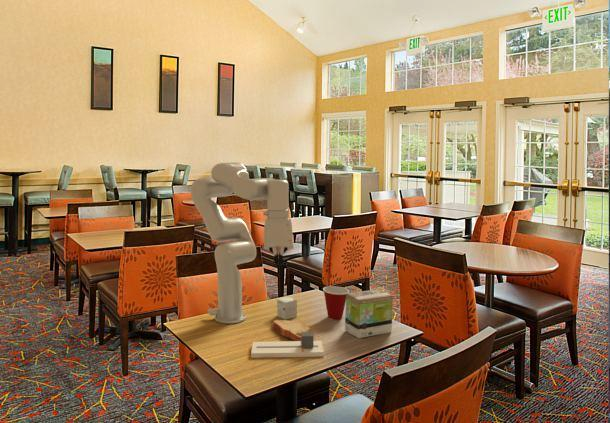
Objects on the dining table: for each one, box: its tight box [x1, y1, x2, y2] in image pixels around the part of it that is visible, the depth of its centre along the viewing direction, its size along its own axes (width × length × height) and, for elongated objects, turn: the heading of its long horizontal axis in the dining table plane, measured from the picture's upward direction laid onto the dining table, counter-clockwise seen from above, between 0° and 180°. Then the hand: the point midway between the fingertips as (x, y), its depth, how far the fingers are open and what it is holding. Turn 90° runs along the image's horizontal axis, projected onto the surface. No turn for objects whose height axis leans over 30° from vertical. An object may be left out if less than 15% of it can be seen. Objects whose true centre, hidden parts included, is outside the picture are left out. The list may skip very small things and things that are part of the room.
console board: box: [250, 340, 325, 359], centre depth 171 cm, size 24×10×2 cm, turn 92°
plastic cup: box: [322, 285, 350, 320], centre depth 205 cm, size 11×11×12 cm
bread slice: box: [271, 319, 313, 341], centre depth 189 cm, size 18×18×4 cm
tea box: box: [344, 288, 394, 339], centre depth 188 cm, size 15×10×15 cm, turn 117°
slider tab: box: [301, 331, 314, 348], centre depth 171 cm, size 4×4×4 cm
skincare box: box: [276, 296, 298, 320], centre depth 206 cm, size 6×6×7 cm
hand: (278, 265), depth 179 cm, fingers closed
